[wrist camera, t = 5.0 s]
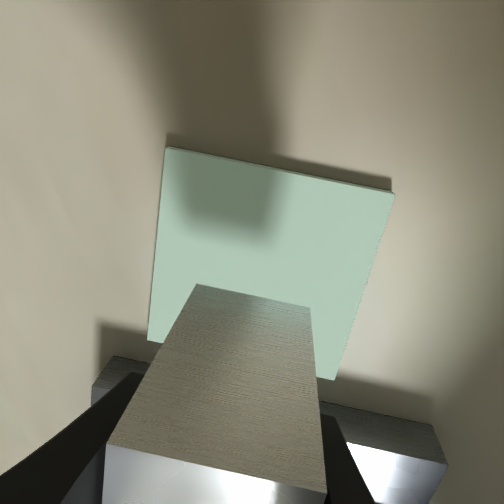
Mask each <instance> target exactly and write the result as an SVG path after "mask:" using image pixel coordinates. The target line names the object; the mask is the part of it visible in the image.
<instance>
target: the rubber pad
mask: <svg viewBox="0 0 504 504" xmlns="http://www.w3.org/2000/svg"><path fill="white" fill-rule="evenodd" d="M394 197H395V194H394V193H393V192H392V191H387V190H382V189H378V188H373V187H368V186H363V185H358V184H353V183H348V182H343V181H338V180H333V179H328V178H323V177H318V176H313V175H308V174H303V173H299V172H294V171H289V170H284V169H279V168H274V167H269V166H264V165H259V164H254V163H249V162H244V161H239V160H234V159H229V158H224V157H219V156H215V155H210V154H205V153H200V152H195V151H190V150H185V149H180V148H175V147H170V146H169V147H167V148H165V157H164V168H163V178H162V189H161V199H160V210H159V220H158V230H157V241H156V251H155V262H154V272H153V283H152V293H151V304H150V314H149V325H148V335H147V340H149V341H154V342H159V343H163V342H164V340H165V338H166V337H167V335H168V333H169V331H170V330H171V328H172V326H173V324H174V322H175V321H176V319H177V317H178V315H179V314H180V312H181V310H182V308H183V306H184V305H185V303H186V301H187V299H188V298H189V296H190V294H191V292H192V290H193V289H194V287H195V285H196V283H197V284H201V285H206V286H211V287H215V288H220V289H225V290H230V291H234V292H239V293H244V294H248V295H253V296H258V297H263V298H267V299H272V300H277V301H281V302H286V303H291V304H296V305H300V306H305V307H310V312H311V323H312V334H313V345H314V356H315V367H316V377H320V378H324V379H329V380H335V377H336V374H337V371H338V368H339V365H340V362H341V359H342V356H343V353H344V350H345V347H346V344H347V341H348V338H349V334H350V331H351V328H352V325H353V322H354V319H355V316H356V313H357V310H358V307H359V304H360V301H361V298H362V295H363V292H364V289H365V286H366V283H367V280H368V277H369V274H370V270H371V267H372V264H373V261H374V258H375V255H376V252H377V249H378V246H379V243H380V240H381V237H382V234H383V231H384V228H385V225H386V222H387V219H388V216H389V213H390V210H391V206H392V203H393V200H394Z"/></svg>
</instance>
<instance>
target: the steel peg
mask: <svg viewBox="0 0 504 504" xmlns="http://www.w3.org/2000/svg"><path fill="white" fill-rule="evenodd" d="M326 495H327V486H326V475H325V465H324V454H323V443H322V432H321V421H320V410H319V399H318V389H317V378H316V367H315V356H314V345H313V334H312V323H311V312H310V307H305V306H300V305H296V304H291V303H286V302H281V301H277V300H272V299H267V298H263V297H258V296H253V295H248V294H244V293H239V292H234V291H230V290H225V289H220V288H215V287H211V286H206V285H201V284H197V283H196V285H195V287H194V289H193V290H192V292H191V294H190V296H189V298H188V299H187V301H186V303H185V305H184V306H183V308H182V310H181V312H180V314H179V315H178V317H177V319H176V321H175V322H174V324H173V326H172V328H171V330H170V331H169V333H168V335H167V337H166V338H165V340H164V342H163V344H162V346H161V347H160V349H159V351H158V353H157V354H156V356H155V358H154V360H153V362H152V363H151V365H150V367H149V369H148V370H147V372H146V374H145V376H144V378H143V379H142V381H141V383H140V385H139V386H138V388H137V390H136V392H135V394H134V395H133V397H132V399H131V401H130V402H129V404H128V406H127V408H126V410H125V411H124V413H123V415H122V417H121V418H120V420H119V422H118V424H117V426H116V427H115V429H114V431H113V433H112V434H111V436H110V438H109V440H108V442H107V443H106V454H105V468H104V482H103V496H102V504H324V501H325V498H326Z"/></svg>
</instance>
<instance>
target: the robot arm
mask: <svg viewBox="0 0 504 504" xmlns="http://www.w3.org/2000/svg"><path fill="white" fill-rule="evenodd" d="M144 376H145V375H143V374H138V373H134V372H130V373H129V374H127V375H126V376H125V377H124V378H122V379H121V380H120V381H119V382H118V383H117V384H116V385H115V386H114V387H113V388H112V389H110V390H109V391H108V392H107V393H106V394H105V395H104V396H103V397H101V398H100V399H99V400H98V401H97V402H96V403H95V404H93V405H92V406H91V407H90V408H89V409H88V410H86V411H85V412H84V413H83V414H81V415H80V416H79V417H78V418H77V419H75V420H74V421H73V422H72V423H70V424H69V425H68V426H67V427H66V428H64V429H63V430H62V431H61V432H59V433H58V434H57V435H56V436H54V437H53V438H52V439H50V440H49V441H48V442H46V443H45V444H43V445H42V446H41V447H39V448H38V449H37V450H35V451H34V452H33V453H31V454H30V455H29V456H27V457H26V458H25V459H23V460H22V461H21V462H19V463H18V464H16V465H15V466H13V467H12V468H11V469H9V470H8V471H6V472H5V473H3V474H2V475H0V504H102V496H103V482H104V468H105V454H106V443H107V442H108V440H109V438H110V436H111V434H112V433H113V431H114V429H115V427H116V426H117V424H118V422H119V420H120V418H121V417H122V415H123V413H124V411H125V410H126V408H127V406H128V404H129V402H130V401H131V399H132V397H133V395H134V394H135V392H136V390H137V388H138V386H139V385H140V383H141V381H142V379H143V378H144ZM320 421H321V432H322V443H323V454H324V465H325V475H326V486H327V495H326V498H325V501H324V504H376V502H375V500H374V498H373V496H372V494H371V492H370V491H369V489H368V487H367V485H366V483H365V481H364V479H363V477H362V475H361V473H360V471H359V468H358V466H357V464H356V462H355V460H354V458H353V456H352V453H351V451H350V449H349V447H348V445H347V442H346V440H345V438H344V435H343V433H342V431H341V428H340V426H339V424H338V421H337V420H336V418H335V417H334V416H330V415H325V414H320Z"/></svg>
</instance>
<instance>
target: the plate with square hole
mask: <svg viewBox="0 0 504 504" xmlns="http://www.w3.org/2000/svg"><path fill="white" fill-rule="evenodd" d="M150 365H151V364H148V363H144V362H139V361H135V360H130V359H125V358H121V357H116V356H113V357H112V358H111V360H110V361H109V363H108V364H107V365H106V367H105V368H104V370H103V371H102V372H101V374H100V375H99V377H98V378H97V380H96V381H95V382H94V384H93V385H92V396H91V406H92V405H93V404H95V403H96V402H97V401H98V400H99V399H100V398H101V397H103V396H104V395H105V394H106V393H107V392H108V391H109V390H110V389H112V388H113V387H114V386H115V385H116V384H117V383H118V382H119V381H120V380H121V379H122V378H124V377H125V376H126V375H127V374H129V373H130V372H134V373H138V374H143V375H145V374H146V372H147V370H148V369H149V367H150ZM319 410H320V414H325V415H330V416H334V417H335V418H336V420H337V421H338V424H339V426H340V428H341V431H342V433H343V435H344V438H345V440H346V442H347V445H348V447H349V449H350V451H351V453H352V456H353V458H354V460H355V462H356V464H357V466H358V468H359V471H360V473H361V475H362V477H363V479H364V481H365V483H366V485H367V487H368V489H369V491H370V492H371V494H372V496H373V498H374V500H375V502H376V504H428V503H429V501H430V499H431V498H432V496H433V494H434V492H435V490H436V488H437V486H438V484H439V482H440V480H441V478H442V476H443V474H444V473H445V471H446V469H447V467H448V463H447V461H446V458H445V456H444V453H443V451H442V449H441V446H440V444H439V442H438V439H437V437H436V434H435V432H434V430H433V427H432V425H427V424H423V423H418V422H413V421H409V420H404V419H400V418H395V417H391V416H386V415H381V414H377V413H372V412H368V411H363V410H359V409H354V408H349V407H345V406H340V405H336V404H331V403H327V402H322V401H319Z"/></svg>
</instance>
